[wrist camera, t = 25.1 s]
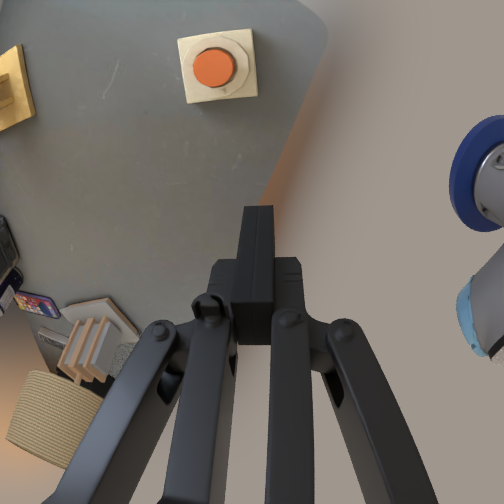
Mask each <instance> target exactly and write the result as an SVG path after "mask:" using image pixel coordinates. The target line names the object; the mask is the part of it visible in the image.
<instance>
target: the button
mask: <svg viewBox="0 0 504 504" xmlns="http://www.w3.org/2000/svg"><path fill="white" fill-rule="evenodd" d="M234 70H235V64H234V60H233V58H232V57H231V56H230V55H229V54H228V53H227V52H225V51H222V50H209V51H205V52H203V53H202V54H200V55H199V56H198V57H197V59H196V60H195V62H194V66H193V72H194V75H195V77H196V79H197V80H198V81H199V82H200V83H201V84H203V85H205V86H209V87H216V86H220V85H223V84H224V83H226V82H227V81H228V80H229V79H230V78H231V77H232V75H233V73H234Z"/></svg>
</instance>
